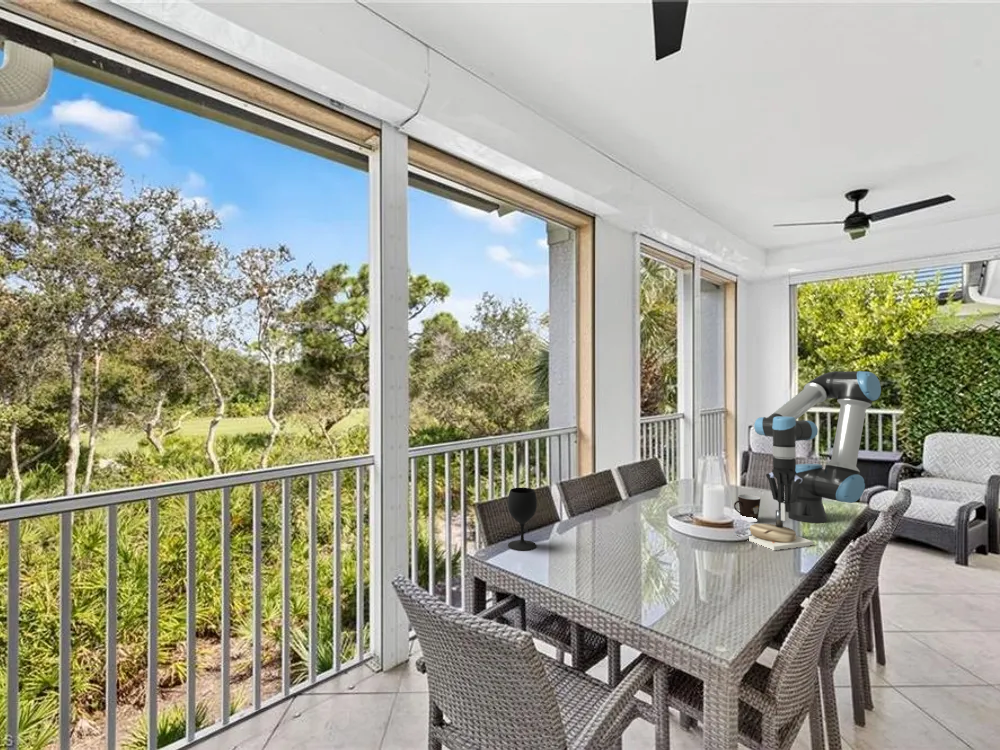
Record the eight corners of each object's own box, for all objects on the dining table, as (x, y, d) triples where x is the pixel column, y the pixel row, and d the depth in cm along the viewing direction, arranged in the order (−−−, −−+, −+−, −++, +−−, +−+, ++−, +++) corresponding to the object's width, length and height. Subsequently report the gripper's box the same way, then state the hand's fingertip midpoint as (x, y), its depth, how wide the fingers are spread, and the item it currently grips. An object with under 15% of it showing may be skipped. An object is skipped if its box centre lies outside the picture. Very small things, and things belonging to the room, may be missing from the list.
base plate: (771, 530, 197) (771, 526, 197) (812, 545, 180) (812, 540, 180) (734, 535, 192) (734, 530, 192) (774, 550, 175) (774, 545, 175)
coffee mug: (755, 517, 215) (755, 494, 215) (764, 523, 206) (764, 499, 206) (727, 517, 216) (727, 494, 216) (734, 523, 207) (734, 499, 207)
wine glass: (542, 545, 179) (542, 490, 179) (523, 553, 172) (524, 495, 172) (520, 539, 186) (520, 485, 186) (501, 546, 179) (501, 490, 179)
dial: (760, 526, 197) (760, 506, 197) (802, 536, 185) (802, 514, 185) (742, 534, 187) (742, 512, 187) (785, 544, 176) (785, 521, 176)
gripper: (807, 458, 185) (807, 522, 185) (772, 454, 196) (772, 514, 196) (797, 460, 181) (797, 525, 181) (761, 456, 192) (762, 517, 192)
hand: (784, 520), depth 188 cm, fingers closed
